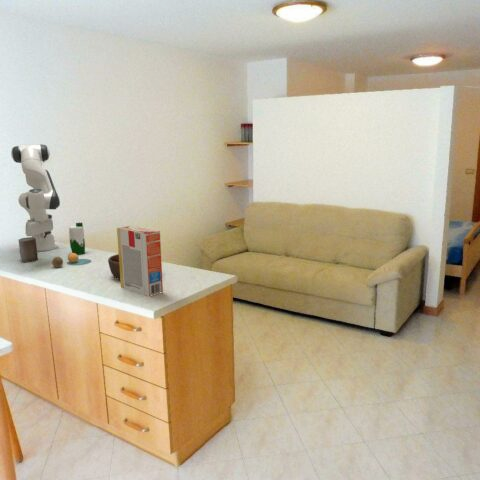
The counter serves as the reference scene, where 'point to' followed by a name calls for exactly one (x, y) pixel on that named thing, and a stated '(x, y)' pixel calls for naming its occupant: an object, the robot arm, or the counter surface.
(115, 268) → the wooden bowl
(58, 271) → the counter surface
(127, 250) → the cereal box
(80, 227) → the milk carton
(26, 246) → the pillar candle
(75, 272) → the counter surface
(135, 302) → the counter surface
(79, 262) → the teal mark
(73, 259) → the orange ball
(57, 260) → the walnut ball
